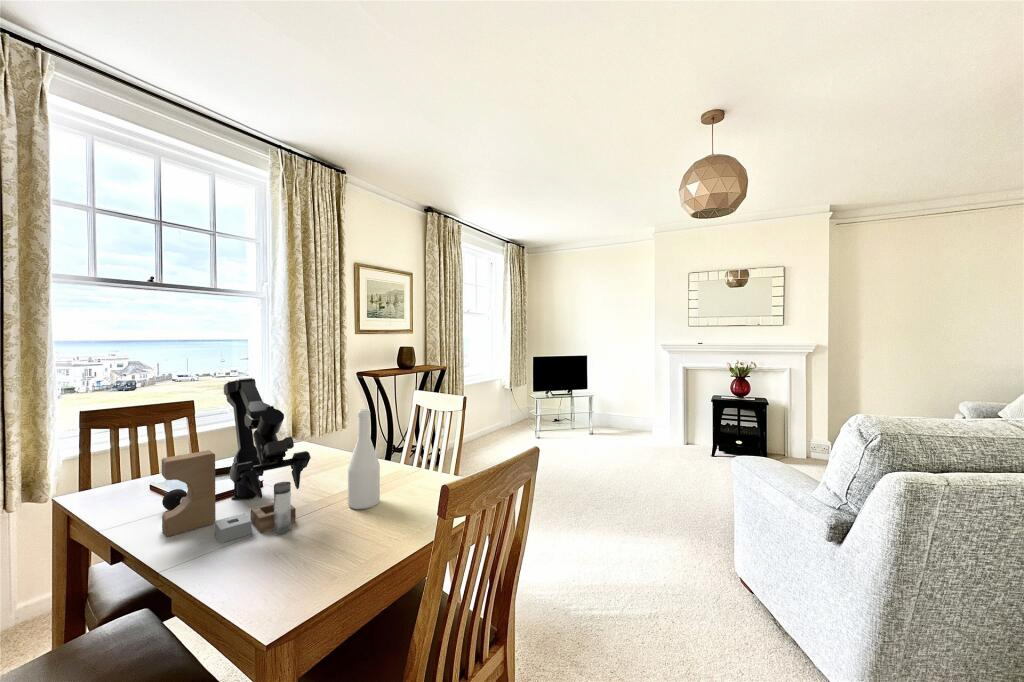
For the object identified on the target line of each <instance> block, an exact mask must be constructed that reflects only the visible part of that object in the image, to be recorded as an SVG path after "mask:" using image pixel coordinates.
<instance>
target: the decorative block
mask: <svg viewBox="0 0 1024 682" xmlns="http://www.w3.org/2000/svg"><path fill="white" fill-rule="evenodd" d="M161 476H162V477H163V478H164V480H165V481H179V482H182V483H184V484H185V485H186V488H187V491H186V492H187V496H186V497H185V499H184V500H183V501H182V503H181V504H179V505H178V506H177V507H176V508H175V509H173V510H167V512H163V514H162V515H161V531H162V532H163V534H164V536H165V537H167V538H169V537H172V535H173V536H176V535H179V533H180V534H183V533H187V532H190V531H193V530H197V529H201V528H204V527H207V526H211V525H214V521H216V518H217V517H216V516H217V515H216V454H215V453H213V452H212V451H211V450H210V449H209V450H208V449H207V450H203V451H202V450H201V451H196V452H192V453H186V454H180V455H174V456H168V457H162V459H161ZM186 531H187V532H186ZM175 534H176V535H175ZM168 536H169V537H168Z"/></svg>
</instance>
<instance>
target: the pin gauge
mask: <svg viewBox="0 0 1024 682" xmlns="http://www.w3.org/2000/svg"><path fill="white" fill-rule="evenodd" d="M291 484H292V483H291V482H290V481H280V482H277V483H274V484H273V502H274V529H273V534H274V536H282V535H283V536H284V535H286V534H288V533H290V532H291V531H292V529H291V528H292V527H291V526H292V525H291V524H292V523H291V505H292V503H291V501H292V500H291V496H292V495H291V494H292V493H291V489H292V488H291Z"/></svg>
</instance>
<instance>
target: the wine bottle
mask: <svg viewBox="0 0 1024 682" xmlns="http://www.w3.org/2000/svg"><path fill="white" fill-rule="evenodd" d="M357 417H358V427H357V428H358V431H357V432H358V433H357V434H358V435H357V438H356V439H357V440H356V442H355V446H354V448H353V452H352V455H351V457H350V460H349V464H348V466H347V504H348V507H349V508H350V509H353V510H366V509H367V510H368V509H371V508H373V507H375V506H376V505H378V504H379V503H380V500H381V499H380V498H381V490H380V489H381V487H380V486H381V484H380V483H381V482H380V481H381V473H380V472H381V470H380V469H381V465H380V462H379V458H378V455H377V454H376V450H375V447H374V444H373V441H372V439H371V429H370V426H371V425H370V417H371V411H370V409H369V408H361V409H359V410H358V412H357Z"/></svg>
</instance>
